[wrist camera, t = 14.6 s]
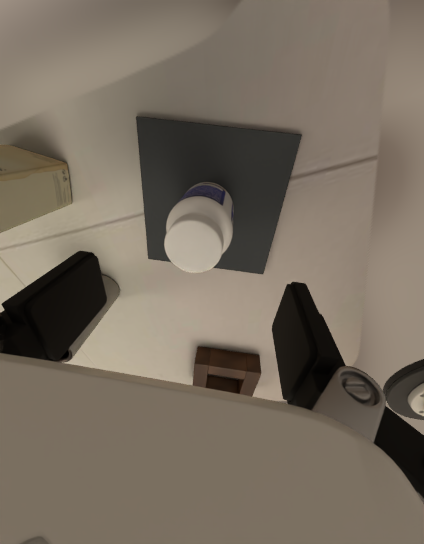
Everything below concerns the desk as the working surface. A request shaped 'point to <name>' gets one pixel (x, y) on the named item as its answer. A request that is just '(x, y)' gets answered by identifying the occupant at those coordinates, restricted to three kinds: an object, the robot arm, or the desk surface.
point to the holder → (226, 370)
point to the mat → (216, 181)
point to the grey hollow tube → (112, 295)
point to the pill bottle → (199, 228)
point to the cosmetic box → (30, 186)
